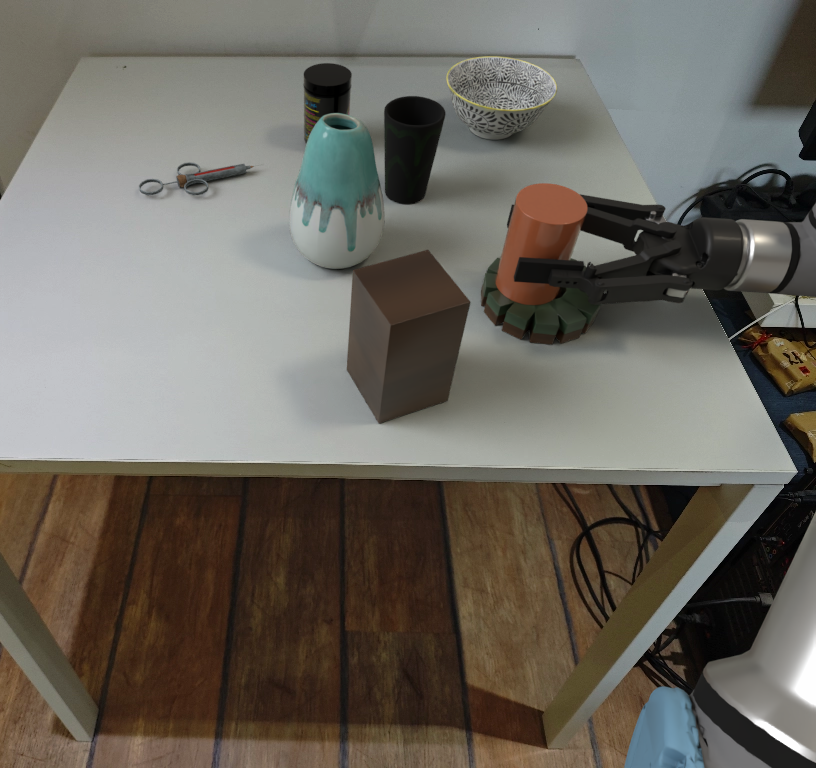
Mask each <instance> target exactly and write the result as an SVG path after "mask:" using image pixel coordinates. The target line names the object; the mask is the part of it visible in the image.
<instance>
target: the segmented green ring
mask: <svg viewBox="0 0 816 768" xmlns="http://www.w3.org/2000/svg"><path fill="white" fill-rule="evenodd" d="M500 258H501V257H496V259H495V260H494V261H493V262H492V263H491V264H490V265H489V266H488V267H487V268H486V272H485V273H484V277H483V281H482V285H481V290H480V305H481V307H484V309H483V313H484V314H485V315H486V317H487V318H488V319H489V320H490V321H491V323H492V324H493V325H494V326H496V327H497V326H499V325H502V327H501V331H502V332H504V333H506V334H508V335H510V336H512V337H514V338H516V339H519V340H523V338H524V337H525V336H526V335H527V334H528V337H529V343H532V344H543V345H551V346H552V345H553V344H554V341H555V339H556V340H557V341H558V342H559V343H560V344H564V343H567V342H570V341H573V340H577V339H579V338H580V336H581V334H584V335H585V334H587V332H588V331H589V330H590V328H591V327H592V326H593V324H594V323H595V320H596V318H597V317H598V313H599V311H600V308H601V306H602V305H593V304H590V303H589V302H588V298H589V296H588V295H587V294H586V293H585V292H582V291H580V290H579V289H578V288H565V287H564V288H563V287H560V290H559V293H558V295H557V296H556V297H555V298H554V299H553V300H552V301H550V302H548V303H545V304H541V305H525V304H521V303H517V302H514V301H512V300H510V299H508V298H507V297H505V296H504V295H503V294H502V293H501V292H500V291H499V290H498V288H497V286H496V282H495V278H496V273H497V270H498V266H499V262H500ZM570 260H573V261H578V260H577V259H575V258H572V257H571V259H570ZM586 267H587V265H585V264H584V268H583V271H585V270H586Z"/></svg>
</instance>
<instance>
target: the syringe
mask: <svg viewBox="0 0 816 768" xmlns="http://www.w3.org/2000/svg"><path fill="white" fill-rule="evenodd" d="M264 165H265V163H263V164H261V166H264ZM259 166H260V164H258V165H256V167H259ZM184 167H195V168H197V169H198V170H197V171H196V172H193V173H185V174H184V173H182V172H180V170H181V169H182V168H184ZM254 167H255V165H246V164H245V163H240V164H239V163H238V164H234V165H229V166H224V167H218V168H214V169H208V170H203V171H201V166H200V165H199V164H198V163H196V162H190V161H189V162H183V163H181V164H180V165H178V166H177V168H176V173H177V175H176V178H175V179H176V180H175V181H171V182H170V181H169V182H165V183H163V182H162V181H161V180H160V179H157V178H147V179H145V180H143V181H141V182H140V183H139V184H138V190H139V193H141V194H142V195H145V196H156V195H158V194H160V193H161V192H162V191H163V190H164V186H167V185H171V184H176V183H177V186H178V188H183V189H184V192H185V193H186V194H188V195H190V196H201V195H204V194H206V193H208V191H209V189H210V187H209V183H208V181H213V180H217V179H222V178H223V179H224V178H228V177H232V176H237V175H242V174H246V173H247V171H248V170H251V169H253V168H254ZM149 183H157V184H160V188H158V189H157V190H154V191H146V190H143V189H142V187H143V186H145V185H146V184H149ZM198 183H199V184H204V185H205V186H206V187H205V188H204V189H203V190H200V191H191V190H189V189H188V188H187V187H188V186H191V185H194V184H198Z"/></svg>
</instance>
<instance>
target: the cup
mask: <svg viewBox="0 0 816 768" xmlns="http://www.w3.org/2000/svg"><path fill="white" fill-rule="evenodd" d="M445 118H446V110H445V108H444V106H443V105H442V104H440V103H439V102H438V101H436V100H434V99H431V98H429V97H424V96H418V95H407V96H400V97H397V98H394V99H392V100H390V101H389V102H388V103H386V105H385V106H384V110H383V123H384V125H383V126H384V127H383V129H384V130H383V132H384V133H383V135H384V136H383V137H384V138H383V139H384V140H383V141H384V144H383V146H384V151H383V152H384V195H385V196H386V198H387V199H388V200H390V201H392V202H393V203H395V204H396V203H397V204H400V205H414V204H417V203H419V202H422V200H423V199H424V198H425V196H426V193H427V189H428V185H429V182H430V178H431V173H432V169H433V166H434V162H435V157H436V154H437V150H438V146H439V142H440V140H441V139H440V138H441V135H442V131H443V130H442V129H443V127H444V123H445Z"/></svg>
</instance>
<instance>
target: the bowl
mask: <svg viewBox="0 0 816 768" xmlns="http://www.w3.org/2000/svg"><path fill="white" fill-rule="evenodd" d="M445 78H446V84H447V87H448V89H449V94H450V99H451V103H452V107H453V110H454V111H455V114H456V116H457V117H458V118H459V119H460V121H461V122H462V123H463V124H464V125H466V126H467V127H468V129H469V130H470V132H471V133H472V134H473V135H475V136H477V137H478V138H482V139H484V140H486V139H487V140H491V141H492V140H494V141H495V140H497V141H498V140H503V139H507V138H510V136H512V135H513V134H516V133H519V132H521V131H523V130H525V129H526V128H528V127H530V126H531V125H532V124H533V123H534V122H535V121H536V120H537V119H538V118H539V116H541V114H542V113H543V111H544V110H545V109H546V107H547V106H548V104H550V103H551V101H553V99H554V98H555V97H556V95H557V92H558V84H557V82H556V80H555V79H554V77H553V76H552V75H551V74H550V73H549V72H548V71H547V70H545V69H544V68H542V67H540V66H538V65H537V64H533V63H531V62H529V61H527V60H526V61H525V60H522V59H518V58H513V57H508V56H499V55H490V56H487V55H486V56H478V57H477V56H476V57H471V58H467V59H463V60H462V61H459V62H457V63H455V64H454V65H452V66H451V67H450V68H449V69H448V71H447V73H446V77H445Z"/></svg>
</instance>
